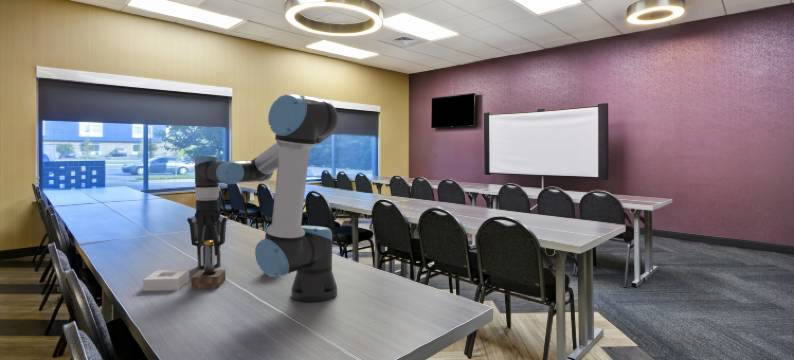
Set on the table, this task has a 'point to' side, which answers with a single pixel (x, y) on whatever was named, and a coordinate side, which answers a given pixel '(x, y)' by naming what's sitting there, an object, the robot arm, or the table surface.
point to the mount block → (208, 279)
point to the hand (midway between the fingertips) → (209, 264)
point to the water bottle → (208, 237)
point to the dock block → (166, 280)
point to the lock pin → (208, 258)
